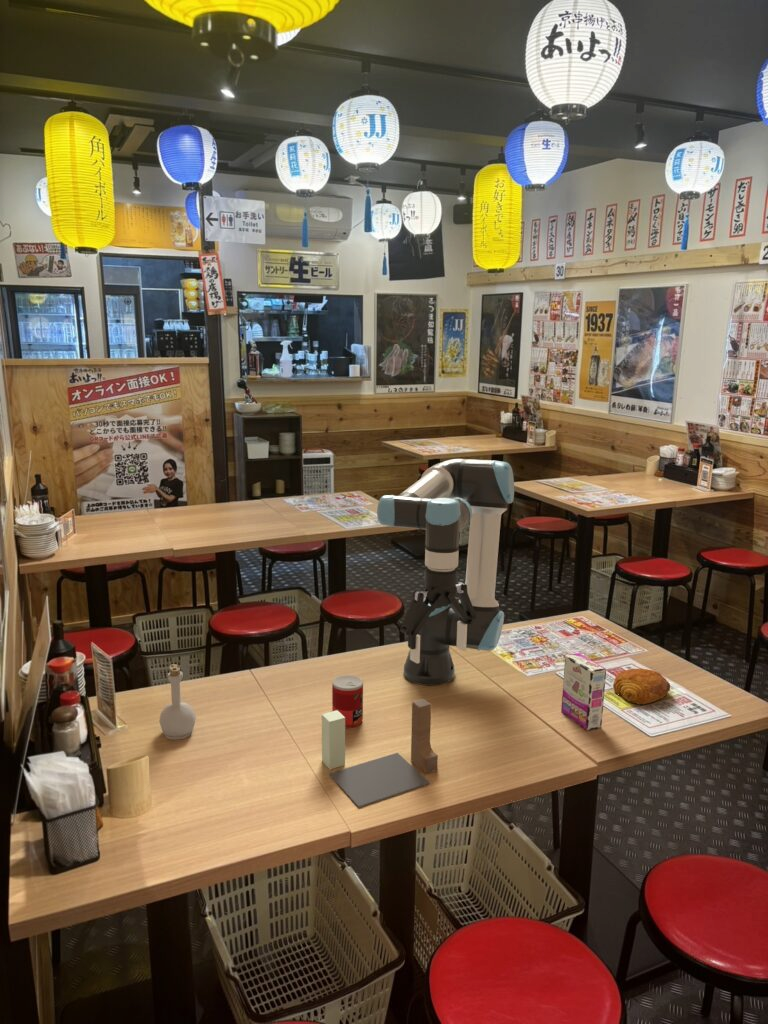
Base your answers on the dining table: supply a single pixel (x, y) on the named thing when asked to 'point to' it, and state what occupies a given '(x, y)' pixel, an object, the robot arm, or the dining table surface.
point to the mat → (378, 779)
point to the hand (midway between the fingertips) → (438, 655)
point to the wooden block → (422, 737)
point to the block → (333, 739)
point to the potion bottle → (177, 710)
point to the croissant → (641, 685)
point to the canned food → (348, 699)
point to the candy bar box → (583, 691)
